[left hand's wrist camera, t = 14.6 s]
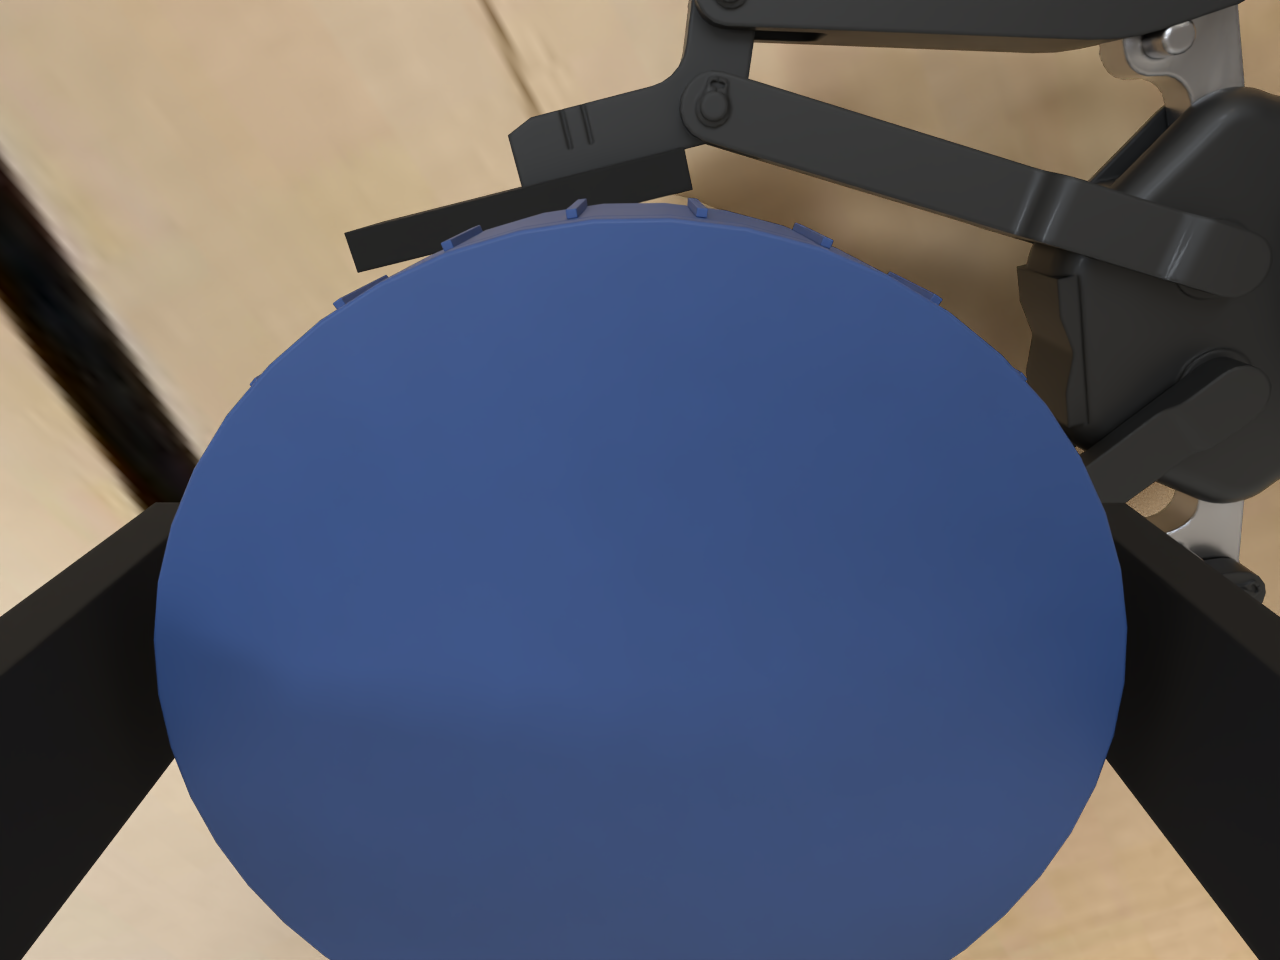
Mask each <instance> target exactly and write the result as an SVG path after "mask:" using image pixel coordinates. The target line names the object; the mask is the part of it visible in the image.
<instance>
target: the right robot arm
mask: <svg viewBox="0 0 1280 960" xmlns="http://www.w3.org/2000/svg"><path fill="white" fill-rule="evenodd" d="M1243 1H1245V0H689V3H688V14H687V22H686V31H685V39H684V47H683V54H682V58H681V63H680V65H679V67H678V68H677V69H676V70H675V72H674V73H673V74H672V75H671V76H670V77H668V78H667V79H666V80H664V81H663V82H661V83H659V84H656V85H654V86H651V87H647V88H643V89H639V90H635V91H631V92H627V93H624V94H620V95H616V96H612V97H608V98H604V99H600V100H596V101H593V102H589V103H585V104H582V105H577V106H573V107H569V108H566V109H562V110H558V111H554V112H550V113H546V114H542V115H539V116H535V117H531V118H530V119H528V120H527V121H526V122H524V123H523V124H522V125H521V126H519V127H518V128H517V129H516V130H514V131H513V132H512V133H510V134H509V135H508V137H509V141H510V145H511V148H512V152H513V156H514V160H515V163H516V167H517V171H518V174H519V178H520V182H521V185H522V187H518V188H514V189H510V190H506V191H502V192H498V193H495V194H491V195H487V196H483V197H479V198H475V199H471V200H467V201H463V202H459V203H455V204H451V205H447V206H443V207H439V208H435V209H431V210H427V211H423V212H419V213H415V214H411V215H407V216H404V217H400V218H396V219H392V220H388V221H384V222H380V223H377V224H373V225H370V226H367V227H363V228H360V229H356V230H353V231H350V232H346V233H344V234H345V237H346V239H347V242H348V245H349V248H350V251H351V254H352V257H353V260H354V263H355V266H356V269H357V272H358V273H359V272H363V271H367V270H371V269H375V268H379V267H383V266H387V265H391V264H395V263H399V262H403V261H407V260H411V259H415V258H419V257H423V256H427V255H431V254H435V253H437V252H439V251H441V250H443V248H442V245H441V243H442V242H444V241H446V240H448V239H450V238H452V237H454V236H456V235H458V234H460V233H462V232H464V231H466V230H469V229H471V228H473V227H475V226H478V225H480V226H481V228H482V231H485V230H488V229H491V228H494V227H498V226H501V225H504V224H508V223H511V222H515V221H518V220H521V219H525V218H528V217H531V216H535V215H538V214H541V213H546V212H553V211H559V210H566V209H567V208H569V207H570V206H571V205H572V204H573V203H574V202H576V201H577V200H578V199H587V206H592V205H598V204H619V203H641V202H645V201H649V200H653V199H657V198H661V197H665V196H669V195H673V194H677V193H681V192H685V191H689V190H693V189H692V184H691V179H690V174H689V170H688V165H687V160H686V155H685V150H684V149H687V148H691V147H695V146H699V145H703V144H707V145H710V146H713V147H717V148H720V149H723V150H727V151H730V152H733V153H736V154H740V155H743V156H746V157H750V158H753V159H756V160H760V161H763V162H766V163H770V164H773V165H776V166H779V167H783V168H786V169H789V170H793V171H796V172H799V173H803V174H806V175H809V176H813V177H816V178H819V179H822V180H826V181H829V182H832V183H836V184H839V185H842V186H846V187H849V188H852V189H856V190H859V191H862V192H865V193H869V194H872V195H875V196H879V197H882V198H885V199H889V200H892V201H895V202H899V203H902V204H905V205H908V206H912V207H915V208H918V209H922V210H925V211H928V212H932V213H935V214H938V215H942V216H945V217H948V218H951V219H955V220H958V221H961V222H965V223H968V224H971V225H974V226H977V227H980V228H983V229H986V230H989V231H993V232H996V233H999V234H1003V235H1006V236H1009V237H1013V238H1016V239H1019V240H1023V241H1026V242H1029V243H1032V244H1033V246H1032V248H1031V250H1030V254H1029V257H1028V261H1027V264H1026V265H1022V266H1018V267H1017V274H1018V285H1019V296H1020V302H1021V305H1022V308H1023V310H1024V313H1025V315H1026V318H1027V320H1028V323H1029V326H1030V328H1031V331H1032V341H1031V346H1030V352H1029V357H1028V363H1027V368H1026V374H1027V383H1028V385H1029V386H1030V387H1031V388H1032V389H1033V390H1034V391H1035V392H1036V393H1037V395H1038V396H1039V397H1040V398H1041V399H1042V400H1043V401H1044V402H1045V403H1046V405H1047V406H1048V408H1049V409H1050V411H1051V412H1052V414H1053V415H1054V417H1055V418H1056V420H1057V422H1058V423H1059V425H1060V426H1061V428H1062V429H1063V431H1064V432H1065V434H1066V435H1067V437H1068V438H1069V440H1070V441H1071V443H1072V444H1073V446H1074V448H1075V447H1076V446H1078V447H1079V448H1081V449H1082V450H1084V451H1085V452H1083V453H1082V454H1080V457H1081V459H1082V461H1083V463H1084V465H1085V468H1086V470H1087V472H1088V474H1089V477H1090V479H1091V481H1092V483H1093V485H1094V488H1095V490H1096V492H1097V494H1098V497H1099V499H1100V501H1101V503H1126V502H1127V501H1129V500H1130V499H1131V498H1133V497H1134V496H1136V495H1137V494H1138V493H1140V492H1141V491H1142V490H1144V489H1145V488H1147V487H1148V486H1149V485H1151V484H1152V483H1154V482H1155V481H1156V482H1158V483H1161V484H1163V485H1165V486H1168V487H1170V488H1172V489H1175V494H1174V496H1173V498H1172V500H1171V502H1170V503H1169V504H1168V505H1167V506H1166V507H1165V508H1164V509H1163V510H1162V511H1160V512H1159V513H1157V514H1154V515H1151V516H1149V517H1145V518H1146V519H1147V520H1149V521H1150V522H1151V523H1153V524H1154V525H1155V526H1157V527H1158V528H1160V529H1161V530H1162V531H1164V532H1165V533H1166V534H1168V535H1169V536H1170V537H1172V538H1173V539H1174V540H1176V541H1177V542H1179V543H1180V544H1181V545H1183V546H1184V547H1185V548H1187V549H1188V550H1189V551H1191V552H1192V553H1194V554H1195V555H1196V556H1198V557H1199V558H1200V559H1202V560H1203V561H1204V562H1206V563H1207V564H1208V565H1210V566H1211V567H1213V568H1214V569H1215V570H1217V571H1218V572H1219V573H1221V574H1222V575H1223V576H1225V577H1226V578H1227V579H1229V580H1230V581H1232V582H1233V583H1234V584H1236V585H1237V586H1238V587H1240V588H1241V589H1242V590H1244V591H1245V592H1246V593H1248V594H1249V595H1251V596H1252V597H1253V598H1255V599H1256V600H1257V601H1259V602H1260V603H1261V604H1262V602H1263V600H1264V596H1265V593H1266V591H1265V584H1264V582H1263V581H1262V580H1261V578H1260V577H1259V576H1258V575H1256V574H1255V573H1253V572H1252V571H1250V570H1249V569H1248V568H1246V567H1245V566H1243V565H1242V564H1240V562H1239V552H1240V540H1241V529H1242V517H1243V506H1244V500H1246V499H1248V498H1251V497H1253V496H1255V495H1257V494H1259V493H1260V492H1262V491H1263V490H1265V489H1266V488H1267V487H1269V486H1270V485H1272V484H1273V483H1274V482H1276V481H1277V480H1279V479H1280V96H1277V95H1273V94H1270V93H1267V92H1265V91H1262V90H1259V89H1255V88H1250V87H1245V86H1244V74H1243V62H1242V50H1241V38H1240V25H1239V13H1238V4H1239V3H1241V2H1243ZM753 42H758V43H784V44H810V45H836V46H862V47H888V48H914V49H940V50H966V51H992V52H1018V53H1054V52H1062V51H1069V50H1075V49H1081V48H1086V47H1090V46H1095V45H1099V46H1100V51H1099V55H1100V58H1101V61H1102V62H1103V65H1104V67H1105V68H1106V70H1107V71H1108V73H1110V74H1111V75H1112V76H1114V77H1115V78H1119V79H1122V80H1131V79H1143V80H1147V81H1150V82H1151V83H1153V84H1154V85H1156V86H1157V87H1158V89H1159V90H1160V92H1161V93H1162V95H1163V99H1164V103H1165V105H1164V106H1163V107H1161V108H1160V109H1159V110H1158V111H1157V112H1155V113H1154V114H1153V115H1152V116H1151V117H1150V118H1149V119H1148V120H1147V122H1146V123H1145V124H1144V125H1143V126H1142V127H1141V128H1140V129H1139V130H1138V131H1137V132H1136V133H1135V134H1134V135H1133V136H1132V137H1131V138H1130V139H1129V140H1128V141H1127V142H1126V143H1125V144H1124V145H1123V146H1122V147H1121V148H1120V149H1119V150H1118V151H1117V152H1116V153H1115V154H1114V155H1113V156H1112V157H1111V158H1110V159H1109V160H1108V161H1107V162H1106V163H1105V164H1104V165H1103V166H1102V167H1101V168H1100V169H1099V170H1098V172H1097V173H1096V174H1095V175H1094V176H1093V177H1092V178H1091V179H1090V180H1089V181H1085V180H1081V179H1078V178H1075V177H1071V176H1067V175H1063V174H1058V173H1054V172H1049V171H1044V170H1041V169H1037V168H1034V167H1030V166H1027V165H1024V164H1021V163H1018V162H1014V161H1011V160H1008V159H1005V158H1001V157H998V156H995V155H992V154H989V153H985V152H982V151H979V150H976V149H973V148H969V147H966V146H963V145H960V144H956V143H953V142H950V141H947V140H944V139H940V138H937V137H934V136H931V135H927V134H924V133H921V132H918V131H915V130H911V129H908V128H905V127H902V126H899V125H895V124H892V123H889V122H886V121H882V120H879V119H876V118H873V117H870V116H866V115H863V114H860V113H857V112H854V111H850V110H847V109H844V108H841V107H837V106H834V105H831V104H828V103H825V102H821V101H818V100H815V99H812V98H809V97H805V96H802V95H799V94H796V93H792V92H789V91H786V90H783V89H780V88H776V87H773V86H770V85H767V84H764V83H760V82H757V81H754V80H751V79H748V77H749V70H750V63H751V56H752V49H753Z"/></svg>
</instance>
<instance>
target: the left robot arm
mask: <svg viewBox="0 0 1280 960" xmlns="http://www.w3.org/2000/svg"><path fill="white" fill-rule="evenodd" d="M179 505H180V503H154V504H153V505H152V506H150V507H149V508H148V509H146V510H145V511H144V512H142V513H141V514H139V515H138V516H137V517H135V518H134V519H133V520H131V521H130V522H129V523H127V524H126V525H125V526H123V527H122V528H120V529H119V530H118V531H116V532H115V533H114V534H112V535H111V536H110V537H108V538H107V539H106V540H104V541H103V542H101V543H100V544H99V545H97V546H96V547H95V548H93V549H92V550H91V551H89V552H88V553H86V554H85V555H84V556H82V557H81V558H80V559H78V560H77V561H76V562H74V563H73V564H72V565H70V566H69V567H67V568H66V569H65V570H63V571H62V572H61V573H59V574H58V575H57V576H55V577H54V578H53V579H51V580H50V581H48V582H47V583H46V584H44V585H43V586H42V587H40V588H39V589H38V590H36V591H35V592H34V593H32V594H31V595H29V596H28V597H27V598H25V599H24V600H23V601H21V602H20V603H19V604H17V605H16V606H15V607H13V608H12V609H10V610H9V611H8V612H6V613H5V614H4V615H2V616H1V617H0V960H21V959H22V958H23V957H24V955H25V954H26V953H27V951H28V950H29V949H30V947H31V946H32V945H33V944H34V942H35V941H36V940H37V938H38V937H39V936H40V934H41V933H42V932H43V930H44V929H45V928H46V926H47V925H48V924H49V922H50V921H51V920H52V919H53V917H54V916H55V915H56V913H57V912H58V911H59V909H60V908H61V907H62V905H63V904H64V903H65V901H66V900H67V899H68V898H69V896H70V895H71V894H72V892H73V891H74V890H75V888H76V887H77V886H78V884H79V883H80V882H81V880H82V879H83V878H84V876H85V875H86V874H87V873H88V871H89V870H90V869H91V867H92V866H93V865H94V863H95V862H96V861H97V859H98V858H99V857H100V855H101V854H102V853H103V851H104V850H105V849H106V848H107V846H108V845H109V844H110V842H111V841H112V840H113V838H114V837H115V836H116V834H117V833H118V832H119V830H120V829H121V828H122V826H123V825H124V824H125V823H126V821H127V820H128V819H129V817H130V816H131V815H132V813H133V812H134V811H135V809H136V808H137V807H138V805H139V804H140V803H141V802H142V800H143V799H144V798H145V796H146V795H147V794H148V792H149V791H150V790H151V788H152V787H153V786H154V784H155V783H156V782H157V780H158V779H159V778H160V777H161V775H162V774H163V773H164V771H165V770H166V769H167V767H168V766H169V765H170V763H171V762H172V761H173V759H174V758H175V757H174V754H173V752H172V749H171V746H170V742H169V738H168V734H167V729H166V725H165V721H164V717H163V712H162V708H161V704H160V700H159V696H158V685H157V673H156V661H155V649H154V629H155V615H156V601H157V588H158V580H159V575H160V571H161V567H162V563H163V558H164V554H165V550H166V545H167V541H168V537H169V533H170V528H171V524H172V522H173V520H174V517H175V515H176V512H177V510H178V507H179ZM1102 505H1103V508H1104V510H1105V512H1106V516H1107V519H1108V523H1109V527H1110V530H1111V534H1112V538H1113V541H1114V545H1115V549H1116V553H1117V556H1118V560H1119V564H1120V567H1121V573H1122V583H1123V592H1124V601H1125V611H1126V620H1127V643H1126V663H1125V683H1124V688H1123V693H1122V698H1121V702H1120V707H1119V712H1118V717H1117V722H1116V727H1115V732H1114V736H1113V739H1112V742H1111V745H1110V748H1109V750H1108V753H1107V756H1106V759H1107V761H1108V762H1109V763H1110V765H1111V766H1112V767H1113V769H1114V770H1115V771H1116V773H1117V774H1118V775H1119V777H1120V778H1121V779H1122V780H1123V782H1124V783H1125V784H1126V786H1127V787H1128V788H1129V790H1130V791H1131V792H1132V794H1133V795H1134V796H1135V798H1136V799H1137V800H1138V802H1139V803H1140V804H1141V805H1142V807H1143V808H1144V809H1145V811H1146V812H1147V813H1148V815H1149V816H1150V817H1151V819H1152V820H1153V821H1154V823H1155V824H1156V825H1157V826H1158V828H1159V829H1160V830H1161V832H1162V833H1163V834H1164V836H1165V837H1166V838H1167V840H1168V841H1169V842H1170V844H1171V845H1172V846H1173V848H1174V849H1175V850H1176V851H1177V853H1178V854H1179V855H1180V857H1181V858H1182V859H1183V861H1184V862H1185V863H1186V865H1187V866H1188V867H1189V869H1190V870H1191V871H1192V873H1193V874H1194V875H1195V876H1196V878H1197V879H1198V880H1199V882H1200V883H1201V884H1202V886H1203V887H1204V888H1205V890H1206V891H1207V892H1208V894H1209V895H1210V896H1211V897H1212V899H1213V900H1214V901H1215V903H1216V904H1217V905H1218V907H1219V908H1220V909H1221V911H1222V912H1223V913H1224V915H1225V916H1226V917H1227V919H1228V920H1229V921H1230V922H1231V924H1232V925H1233V926H1234V928H1235V929H1236V930H1237V932H1238V933H1239V934H1240V936H1241V937H1242V938H1243V940H1244V941H1245V942H1246V944H1247V945H1248V946H1249V947H1250V949H1251V950H1252V951H1253V953H1254V954H1255V955H1256V957H1257V958H1258V959H1259V960H1280V617H1279V616H1278V615H1276V614H1275V613H1274V612H1272V611H1271V610H1270V609H1268V608H1267V607H1266V606H1264V605H1263V604H1261V603H1260V602H1259V601H1257V600H1256V599H1255V598H1253V597H1252V596H1251V595H1249V594H1248V593H1246V592H1245V591H1244V590H1242V589H1241V588H1240V587H1238V586H1237V585H1236V584H1234V583H1233V582H1232V581H1230V580H1229V579H1227V578H1226V577H1225V576H1223V575H1222V574H1221V573H1219V572H1218V571H1217V570H1215V569H1214V568H1213V567H1211V566H1210V565H1208V564H1207V563H1206V562H1204V561H1203V560H1202V559H1200V558H1199V557H1198V556H1196V555H1195V554H1194V553H1192V552H1191V551H1189V550H1188V549H1187V548H1185V547H1184V546H1183V545H1181V544H1180V543H1179V542H1177V541H1176V540H1174V539H1173V538H1172V537H1170V536H1169V535H1168V534H1166V533H1165V532H1164V531H1162V530H1161V529H1160V528H1158V527H1157V526H1155V525H1154V524H1153V523H1151V522H1150V521H1149V520H1147V519H1146V518H1145V517H1143V516H1142V515H1141V514H1139V513H1138V512H1136V511H1135V510H1134V509H1132V508H1131V507H1130V506H1128V505H1127V504H1126V503H1102Z"/></svg>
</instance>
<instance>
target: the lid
mask: <svg viewBox="0 0 1280 960" xmlns="http://www.w3.org/2000/svg"><path fill="white" fill-rule="evenodd" d="M832 243H833V240H832V239H830V238H828V237H826V236H824V235H822V234H820V233H818V232H816V231H814V230H812V229H809V228H807V227H805V226H803V225H801V224H798V223H795V224H794V227H793V229H790V228H787V227H785V226H782V225H779V224H775V223H771V222H767V221H763V220H760V219H756V218H752V217H748V216H745V215H741V214H737V213H733V212H730V211H726V210H719V209H711V208H706V207H705V206H704V205H703V204H702V203H701V202H700V201H699V200H698V199H695V198H688V203H687V206H686V205H678V204H670V203H619V204H598V205H592V206H587V199H578V200H577V201H576V202H574V203H573V204H572V205H571V206H570V207H569V208H567V209H566V210H559V211H553V212H546V213H541V214H538V215H535V216H531V217H528V218H525V219H521V220H518V221H515V222H511V223H508V224H504V225H501V226H498V227H494V228H491V229H488V230H485V231H482V228H481V226H480V225H478V226H475V227H473V228H471V229H469V230H466V231H464V232H462V233H460V234H458V235H456V236H454V237H452V238H450V239H448V240H446V241H444V242H442V243H441V245H442V248H443V250H441V251H439V252H437V253H435V254H432V255H430V256H429V257H427V258H425V259H423V260H421V261H419V262H417V263H415V264H413V265H411V266H409V267H408V268H406V269H404V270H402V271H400V272H398V273H396V274H394V275H392V276H390V277H388V276H387V275H385V276H383V277H381V278H379V279H377V280H375V281H373V282H371V283H369V284H367V285H365V286H363V287H361V288H359V289H357V290H355V291H353V292H351V293H349V294H347V295H345V296H343V297H341V298H340V299H338V300H337V301H335V302H334V303H333V305H334V306H335V307H336V309H337V310H336V311H334V312H332V313H331V314H329V315H328V316H326V317H325V318H323V319H322V320H320V321H319V322H318V323H317V324H316V325H314V326H313V327H312V328H311V329H310V330H309V331H308V332H306V333H305V334H304V335H303V336H302V337H301V338H300V339H298V340H297V341H296V342H295V343H294V344H293V345H292V346H290V347H289V348H288V349H287V350H286V351H285V352H284V353H282V354H281V355H280V356H279V357H278V358H277V359H276V360H274V361H273V362H272V363H271V364H270V365H269V366H268V367H267V368H266V369H265V371H264V372H263V373H262V374H261V375H259V376H257V377H256V378H254V380H253V381H252V382H251V383H250V386H251V387H250V388H249V390H248V391H247V392H246V393H245V394H244V395H243V397H242V398H241V399H240V400H239V401H238V403H237V404H236V405H235V406H234V407H233V409H232V410H231V411H230V412H229V413H228V414H227V416H226V417H225V419H224V421H223V422H222V424H221V426H220V427H219V429H218V431H217V432H216V434H215V436H214V437H213V439H212V440H211V442H210V444H209V445H208V447H207V449H206V450H205V452H204V454H203V455H202V457H201V459H200V460H199V462H198V464H197V465H196V467H195V468H194V471H193V473H192V476H191V478H190V480H189V483H188V485H187V488H186V490H185V493H184V495H183V498H182V500H181V502H180V505H179V507H178V510H177V512H176V515H175V517H174V520H173V522H172V524H171V528H170V533H169V537H168V541H167V545H166V550H165V554H164V558H163V563H162V567H161V571H160V575H159V580H158V588H157V601H156V615H155V629H154V649H155V661H156V673H157V685H158V696H159V700H160V704H161V708H162V712H163V717H164V721H165V725H166V729H167V734H168V738H169V742H170V746H171V749H172V752H173V754H174V757H175V759H176V762H177V764H178V767H179V769H180V772H181V774H182V777H183V780H184V782H185V785H186V787H187V790H188V792H189V795H190V797H191V799H192V801H193V802H194V804H195V806H196V808H197V810H198V811H199V813H200V815H201V817H202V818H203V820H204V822H205V824H206V826H207V827H208V829H209V831H210V833H211V834H212V836H213V838H214V840H215V841H216V843H217V844H218V846H219V847H220V848H221V850H222V851H223V853H224V854H225V855H226V857H227V858H228V859H229V861H230V862H231V863H232V865H233V866H234V867H235V869H236V870H237V871H238V873H239V874H240V875H241V877H242V878H243V879H244V881H245V882H246V883H247V885H248V886H249V887H250V888H251V889H252V890H253V891H254V892H255V893H256V894H257V895H258V896H259V897H260V898H261V899H262V900H263V901H264V902H265V903H266V904H267V905H268V906H269V908H270V909H271V910H272V911H273V912H274V913H275V914H276V915H277V916H278V917H279V918H280V919H281V920H282V921H283V922H284V923H285V924H286V925H287V926H289V927H290V928H291V929H292V930H294V931H295V932H296V933H297V934H298V935H300V936H301V937H302V938H303V939H304V940H306V941H307V942H308V943H309V944H311V945H312V946H313V947H314V948H315V949H317V950H318V951H319V952H320V953H321V954H323V955H324V956H325V957H327V958H328V959H330V960H951V959H952V958H953V957H955V956H956V955H958V954H959V953H961V952H962V951H964V950H965V949H966V948H967V947H969V946H970V945H971V944H972V943H973V942H974V941H976V940H977V939H978V938H979V937H980V936H981V935H982V934H984V933H985V932H986V931H987V930H988V929H989V928H991V927H992V926H993V925H994V924H995V923H996V922H998V921H999V920H1000V919H1001V918H1002V917H1003V916H1004V915H1005V914H1006V913H1007V912H1008V911H1009V910H1010V909H1011V908H1012V907H1013V906H1014V905H1015V904H1016V902H1017V901H1018V900H1019V899H1020V898H1021V897H1022V896H1023V895H1024V894H1025V893H1026V891H1027V890H1028V889H1029V888H1030V887H1031V886H1032V885H1033V884H1034V883H1035V882H1036V881H1037V879H1038V878H1039V877H1040V876H1041V875H1042V873H1043V872H1044V870H1045V869H1046V868H1047V866H1048V865H1049V863H1050V862H1051V861H1052V859H1053V858H1054V856H1055V855H1056V853H1057V852H1058V851H1059V849H1060V848H1061V846H1062V845H1063V844H1064V842H1065V841H1066V839H1067V838H1068V837H1069V835H1070V834H1071V832H1072V830H1073V828H1074V826H1075V824H1076V822H1077V821H1078V819H1079V817H1080V815H1081V813H1082V811H1083V809H1084V807H1085V805H1086V803H1087V802H1088V800H1089V798H1090V796H1091V794H1092V792H1093V790H1094V788H1095V786H1096V784H1097V781H1098V778H1099V775H1100V773H1101V770H1102V767H1103V764H1104V761H1105V759H1106V756H1107V753H1108V750H1109V748H1110V745H1111V742H1112V739H1113V736H1114V732H1115V727H1116V722H1117V717H1118V712H1119V707H1120V702H1121V698H1122V693H1123V688H1124V683H1125V663H1126V643H1127V620H1126V611H1125V601H1124V592H1123V583H1122V573H1121V567H1120V564H1119V560H1118V556H1117V553H1116V549H1115V545H1114V541H1113V538H1112V534H1111V530H1110V527H1109V523H1108V519H1107V516H1106V512H1105V510H1104V508H1103V505H1102V503H1101V501H1100V499H1099V497H1098V494H1097V492H1096V490H1095V488H1094V485H1093V483H1092V481H1091V479H1090V477H1089V474H1088V472H1087V470H1086V468H1085V465H1084V463H1083V461H1082V459H1081V457H1080V455H1079V454H1078V452H1077V451H1076V449H1075V448H1074V446H1073V444H1072V443H1071V441H1070V440H1069V438H1068V437H1067V435H1066V434H1065V432H1064V431H1063V429H1062V428H1061V426H1060V425H1059V423H1058V422H1057V420H1056V418H1055V417H1054V415H1053V414H1052V412H1051V411H1050V409H1049V408H1048V406H1047V405H1046V403H1045V402H1044V401H1043V400H1042V399H1041V398H1040V397H1039V396H1038V395H1037V393H1036V392H1035V391H1034V390H1033V389H1032V388H1031V387H1030V386H1029V385H1028V383H1027V382H1026V380H1027V378H1026V377H1025V376H1024V374H1023V373H1022V372H1020V371H1018V370H1017V369H1015V368H1013V367H1012V366H1011V365H1010V363H1009V362H1008V361H1007V360H1006V359H1005V358H1004V357H1003V356H1002V355H1001V354H1000V353H999V352H998V351H996V350H995V349H994V348H993V347H992V346H990V345H989V344H988V343H987V342H985V341H984V340H983V339H982V338H981V337H979V336H978V335H977V334H976V333H974V332H973V331H972V330H971V329H970V328H968V327H967V326H966V325H965V324H963V323H962V322H961V321H960V320H959V319H957V318H956V317H955V316H954V315H953V314H951V313H950V312H949V311H947V310H946V309H944V308H942V307H941V306H939V304H940V303H941V301H942V298H940V297H939V296H937V295H936V294H934V293H932V292H930V291H928V290H926V289H924V288H922V287H920V286H918V285H916V284H914V283H912V282H910V281H908V280H906V279H904V278H902V277H900V276H898V275H896V274H894V273H892V272H889V273H888V274H885V273H883V272H881V271H879V270H878V269H876V268H874V267H872V266H870V265H868V264H866V263H864V262H862V261H860V260H858V259H856V258H855V257H853V256H851V255H849V254H847V253H845V252H843V251H841V250H839V249H837V248H835V247H832Z"/></svg>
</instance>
